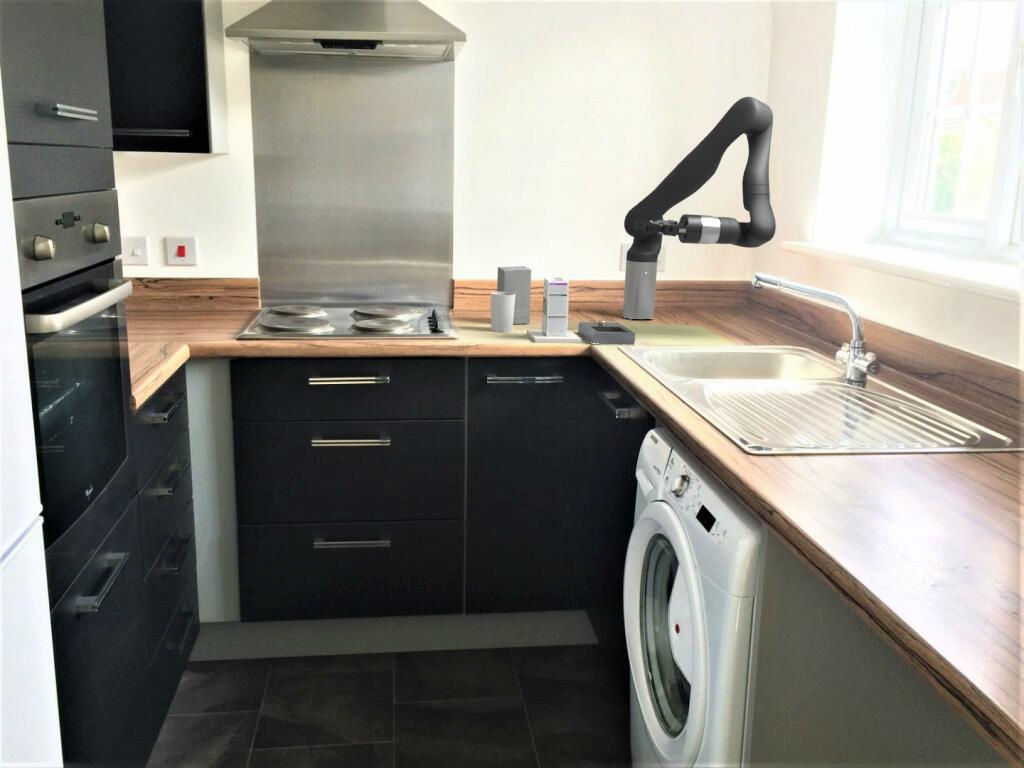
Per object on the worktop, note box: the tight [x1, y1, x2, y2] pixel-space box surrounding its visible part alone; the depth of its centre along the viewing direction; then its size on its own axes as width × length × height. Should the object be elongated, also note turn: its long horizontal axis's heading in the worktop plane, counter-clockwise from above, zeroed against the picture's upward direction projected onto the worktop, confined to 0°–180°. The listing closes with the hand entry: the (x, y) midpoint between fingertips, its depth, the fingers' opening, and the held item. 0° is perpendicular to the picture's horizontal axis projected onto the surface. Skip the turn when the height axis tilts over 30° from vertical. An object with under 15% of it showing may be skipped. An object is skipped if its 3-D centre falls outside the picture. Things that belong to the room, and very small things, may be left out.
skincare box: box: [496, 265, 533, 325], centre depth 263 cm, size 8×7×16 cm
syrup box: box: [541, 277, 570, 336], centre depth 242 cm, size 6×6×14 cm
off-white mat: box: [526, 329, 582, 344], centre depth 243 cm, size 12×12×1 cm
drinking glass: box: [490, 291, 515, 333], centre depth 251 cm, size 7×7×10 cm
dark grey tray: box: [577, 319, 636, 344], centre depth 245 cm, size 16×11×4 cm
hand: (639, 226), depth 244 cm, fingers open, 8 cm apart
